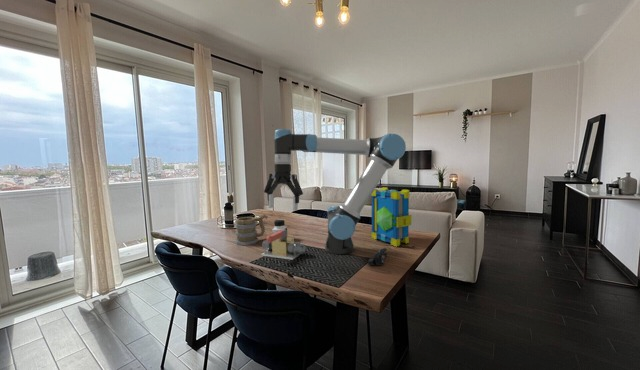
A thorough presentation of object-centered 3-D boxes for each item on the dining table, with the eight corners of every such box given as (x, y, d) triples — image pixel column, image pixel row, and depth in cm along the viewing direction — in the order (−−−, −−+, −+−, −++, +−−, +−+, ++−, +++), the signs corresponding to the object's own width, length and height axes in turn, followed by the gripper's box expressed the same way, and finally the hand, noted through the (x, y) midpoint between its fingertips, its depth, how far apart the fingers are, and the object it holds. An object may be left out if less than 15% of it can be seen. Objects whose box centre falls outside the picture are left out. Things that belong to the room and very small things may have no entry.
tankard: (238, 246, 151) (236, 220, 150) (233, 241, 162) (232, 216, 161) (272, 240, 161) (271, 216, 159) (265, 236, 172) (264, 212, 170)
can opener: (381, 269, 116) (381, 256, 115) (366, 266, 119) (366, 253, 119) (393, 256, 131) (393, 244, 130) (379, 254, 134) (379, 243, 134)
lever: (281, 237, 140) (281, 229, 140) (288, 238, 138) (288, 229, 138) (264, 246, 126) (264, 236, 126) (271, 246, 125) (271, 237, 124)
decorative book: (395, 248, 141) (395, 191, 138) (366, 238, 161) (365, 188, 158) (413, 244, 148) (414, 189, 145) (384, 234, 168) (384, 186, 165)
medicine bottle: (283, 241, 159) (283, 221, 158) (272, 240, 160) (271, 221, 159) (287, 238, 166) (286, 218, 165) (276, 237, 167) (275, 218, 166)
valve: (309, 251, 140) (308, 238, 139) (297, 260, 128) (297, 245, 127) (271, 247, 149) (271, 234, 148) (257, 254, 137) (256, 241, 136)
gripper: (256, 163, 127) (256, 207, 129) (301, 163, 116) (301, 212, 117) (266, 163, 133) (266, 205, 135) (310, 163, 122) (310, 210, 124)
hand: (282, 209), depth 126 cm, fingers open, 13 cm apart
